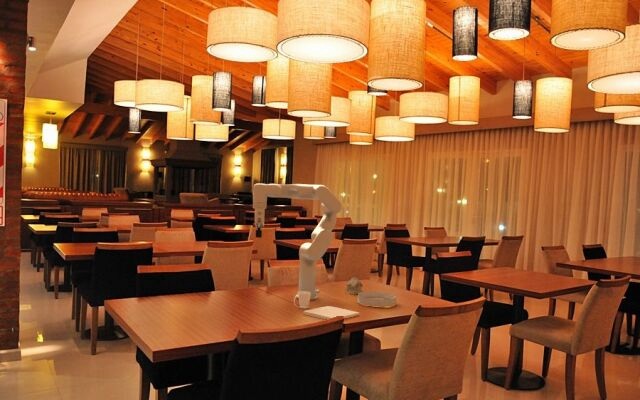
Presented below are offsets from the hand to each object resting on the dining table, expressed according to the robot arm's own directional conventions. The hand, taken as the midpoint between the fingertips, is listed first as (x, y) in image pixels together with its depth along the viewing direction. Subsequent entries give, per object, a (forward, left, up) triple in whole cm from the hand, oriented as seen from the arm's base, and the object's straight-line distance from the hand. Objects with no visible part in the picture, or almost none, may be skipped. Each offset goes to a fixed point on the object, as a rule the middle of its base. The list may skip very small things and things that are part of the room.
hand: (258, 236), depth 290 cm
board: (-4, +50, -35) cm, 61 cm away
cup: (-4, +30, -35) cm, 47 cm away
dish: (-46, +49, -36) cm, 76 cm away
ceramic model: (-63, +22, -35) cm, 75 cm away
